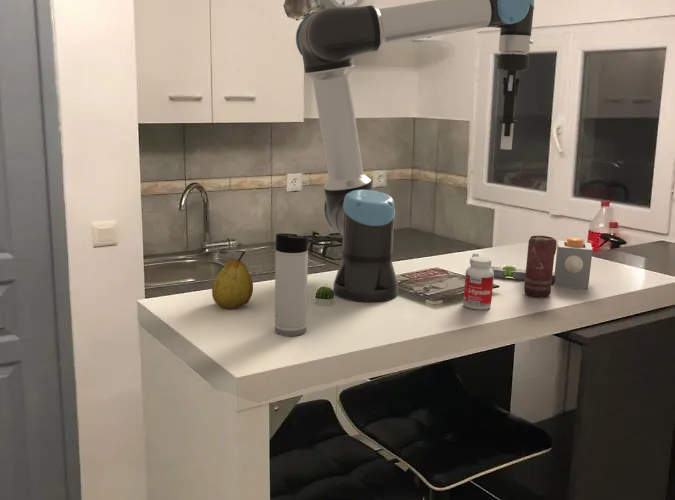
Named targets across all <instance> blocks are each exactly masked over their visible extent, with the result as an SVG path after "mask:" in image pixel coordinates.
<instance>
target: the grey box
mask: <svg viewBox="0 0 675 500" xmlns="http://www.w3.org/2000/svg"><path fill="white" fill-rule="evenodd" d="M566 244H567V240H559V239H558V240H557V246H556V253H555V257H556V258H555V264H554V265H555V266H554V273H555V281H554V283H553V284H554V287H562V288H563V287H564V288H573V289H580V288H581V290H589V283H590V276H591V274H590V273H591V267H592V260H593V259H592V257H593V247H592V243H591V242H584V243H583V248H580V247H568V246H566Z"/></svg>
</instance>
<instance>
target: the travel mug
mask: <svg viewBox="0 0 675 500" xmlns="http://www.w3.org/2000/svg"><path fill="white" fill-rule="evenodd" d="M308 245H309V237H308V236H307V235H303V236H302V235H298V234H296V233H286V232H285V233H283V232H281V233H279V232H278V233H276V234H275V259H274V261H275V265H274V266H275V270H274V272H275V274H274V275H275V276H274V277H275V279H274V283H275V284H274V291H275V292H274V331H275V333H276V334H278V335H280V336H283V337H284V336H285V337H298V336H302V335H304V334H305V333H306V332H307V322H308V321H307V317H308V315H307V314H308V310H307V308H308V274H309V273H308V271H309V270H308V267H309V261H308V260H309V253H308V252H309V246H308Z"/></svg>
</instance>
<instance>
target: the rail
mask: <svg viewBox="0 0 675 500" xmlns="http://www.w3.org/2000/svg"><path fill="white" fill-rule="evenodd" d="M471 257H480V256H479V253H472V255H471ZM490 268H491V269H492V270H493V272H494V278H499V279H506V278H505V277H506V276H504V275H503V273H504V272H506V271H505V270H503V268H504V267H499V266H491V267H490ZM514 269H515V270H516V271H510V272H512V273H513V274H514V276H513V278H515V279H514V280H517V281H525V275H526V269H521V268H520V269H519V268H514ZM554 281H555V272H553V274H552V283H551V284H554Z"/></svg>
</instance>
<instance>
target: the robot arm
mask: <svg viewBox="0 0 675 500" xmlns="http://www.w3.org/2000/svg"><path fill="white" fill-rule="evenodd" d="M534 9H535V0H428V1H421V2H415V3H408V4H401V5H396V6H390V7H383V8H377V7H375V6H374V5H372V4H370V5H362V6H348V7H347V6H331V7H326V8H323V9H318V10H314V11H312V12H310V13H308V14H307V15H306V16H305V17H304V18H303V19H302V20H301V21H300V22H299V25H298V27H297V29H296V33H295V43H296V47H297V49H298V52H299V54H300V55H301V57H302V62H303V68H304V72H305V73H304V74H305V75H306V76H307V77H308V78H310V79H311V80H312V83H313V88H314V89H313V90H314V96H315V102H316V106H317V107H316V108H317V112H318V119H319V126H320V131H321V137H322V144H323V145H322V146H323V150H324V151H323V152H324V157H325V163H326V168H327V174H328V179H327V181H326V182H325V183H324V185H323V188H324V196H325V200H324V204H323V213H324V216H325V220H326V222H327V224H328V225H329V226H330V227H331V229H333V231H335V232H336V233H338V234H340V235H341V236H342V244H341V245H342V251H341V252H342V254H341V262H340V264H339V267H338V270H337V273H336V276H335V279H334V281H333V293H334V295H336V296H337V297H339V298H342V299H346V300H350V301H354V302H365V303H368V302H370V303H372V302H373V303H374V302H375V303H376V302H384V301H385V302H386V301H389V300H392V299H395V298H396V297H397V296H398V295H399V283H398V279H397V275H396V272H395V269H394V266H393V265H394V264H393V248H394V247H393V245H394V228H395V227H394V226H395V217H396V209H395V201H394V199H393V197H392V196H391V195H389V194H388V193H385V192H382V191H380V192H379V191H378V190H374V189H373V187H372V180H371V178H369V177H368V176H367V175H366V174H365V173H364V167H363V161H362V154H361V147H360V141H359V134H358V128H357V122H356V121H357V119H356V114H355V107H354V101H353V93H352V87H351V86H352V85H351V80H350V73H351V72H352V70H353V69H354V67H355V62H354V57H356V56H361V55H364V54H367V53H372V52H373V53H374V52H377V51H380V50H381V48H382V46H384V45H391V44H396V43H397V44H398V43H401V42H408V41H414V40H420V39H424V38H433V37H438V36H442V35H448V34H449V35H450V34H455V33H460V32H467V31H472V30H473V31H474V30H477V29H483V28H496V29H500V30H499V42H498V52H499V53H500V54H499V55H497V56H498V57H497V69H498V70H501V71H502V70H503V71H507V73H506V77H503V78H502V79H503V80H502V81H503V82H502V84H503V96H504V98H503V99H504V100H503V114H502V120H499V123H500V124H502V128H501V136H500V137H501V139H500V150H512V149H513V148H512V147H513V135H514V125H515V124H517V120H515V110H516V101H517V100H516V99H517V96H518V95H519V87H520V84H521V78H520V77H518V72H519V71H528V70H529V63H530V56H529V54H528V53H530V51H531V46H530V45H533V44H534V40H532V38H531V37H532V31H533V30H532V29H533V19H534V18H533V17H534Z"/></svg>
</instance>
